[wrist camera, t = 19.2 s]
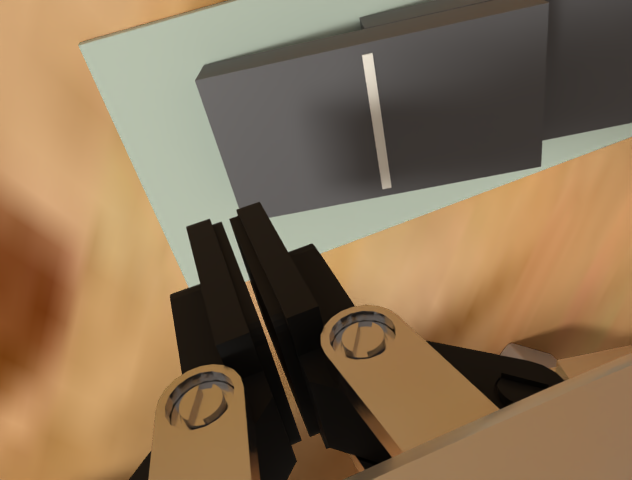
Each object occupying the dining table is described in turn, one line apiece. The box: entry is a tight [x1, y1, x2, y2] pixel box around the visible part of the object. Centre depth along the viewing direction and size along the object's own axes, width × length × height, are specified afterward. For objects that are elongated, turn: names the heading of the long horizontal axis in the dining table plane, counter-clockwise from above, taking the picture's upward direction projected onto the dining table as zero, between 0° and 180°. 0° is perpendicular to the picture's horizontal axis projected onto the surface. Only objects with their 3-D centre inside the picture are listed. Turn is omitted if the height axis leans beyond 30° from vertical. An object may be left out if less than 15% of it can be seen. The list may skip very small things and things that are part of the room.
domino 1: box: [195, 0, 549, 218], centre depth 16 cm, size 2×5×10 cm
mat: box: [78, 0, 632, 288], centre depth 20 cm, size 10×27×1 cm, turn 102°
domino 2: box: [359, 0, 632, 141], centre depth 17 cm, size 2×5×10 cm
